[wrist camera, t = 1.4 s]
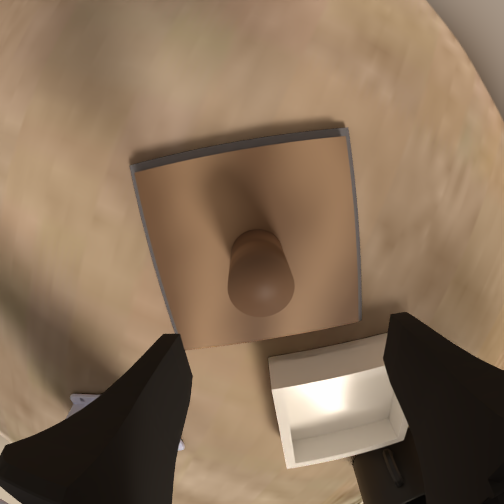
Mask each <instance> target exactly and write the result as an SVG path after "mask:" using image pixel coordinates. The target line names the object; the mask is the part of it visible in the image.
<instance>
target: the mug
mask: <svg viewBox="0 0 504 504" xmlns="http://www.w3.org/2000/svg"><path fill="white" fill-rule="evenodd" d="M353 468H354V471H355V475H356V478H357V482H358V485H359V489H360V492H361V496H362V499H363V503H364V504H426V496H425V488H424V482H423V476H422V471H421V467H420V462H419V458H418V454H417V450H416V446H415V442H414V439H413V436H412V433H411V430H410V428H407V431H406V435H405V438H404V440H403V441H400V442H397V443H394V444H391V445H388V446H385V447H381V448H378V449H375V450H371V451H368V452H364V453H361V454H358V455H357V456H356V458H355V460H354V464H353Z"/></svg>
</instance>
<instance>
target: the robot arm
mask: <svg viewBox="0 0 504 504" xmlns="http://www.w3.org/2000/svg"><path fill="white" fill-rule="evenodd" d="M383 361H384V364H385V368H386V372H387V375H388V378H389V381H390V384H391V386H392V388H393V391H394V393H395V395H396V398H397V400H398V402H399V404H400V407H401V409H402V411H403V414H404V416H405V418H406V421H407V423H408V425H409V428H410V430H411V433H412V436H413V439H414V442H415V446H416V450H417V454H418V458H419V462H420V467H421V471H422V476H423V482H424V488H425V496H426V504H504V370H501V369H499V368H497V367H495V366H493V365H491V364H489V363H486V362H484V361H482V360H480V359H479V358H477V357H475V356H473V355H471V354H470V353H468V352H466V351H465V350H463V349H461V348H460V347H458V346H457V345H455V344H453V343H452V342H450V341H449V340H447V339H446V338H444V337H443V336H441V335H440V334H438V333H437V332H436V331H434V330H433V329H431V328H430V327H428V326H427V325H425V324H424V323H423V322H421V321H420V320H418V319H417V318H415V317H414V316H412V315H410V314H409V313H407V312H403V313H397V314H391V315H390V322H389V328H388V334H387V339H386V345H385V350H384V355H383ZM192 377H193V376H192V373H191V369H190V366H189V363H188V359H187V356H186V353H185V349H184V346H183V342H182V339H181V335H180V334H163V335H162V336H161V337H160V338H159V339H158V340H157V341H156V342H155V343H154V344H153V345H152V346H151V347H150V348H149V349H148V350H147V351H146V353H145V354H144V355H143V356H142V357H141V358H140V359H139V360H138V361H137V362H136V363H135V364H134V365H133V366H132V367H131V368H130V369H129V370H128V371H127V372H126V373H125V374H124V375H123V376H122V377H120V378H119V379H118V380H117V381H116V382H115V383H114V384H113V385H112V386H111V387H110V388H108V389H107V390H106V391H105V392H104V393H102V394H101V395H91V394H71V396H70V399H71V401H72V402H73V406H72V408H71V409H70V411H69V413H68V415H67V417H66V419H65V420H63V421H62V422H60V423H58V424H56V425H54V426H52V427H50V428H48V429H46V430H44V431H42V432H40V433H38V434H35V435H33V436H31V437H28V438H25V439H22V440H20V441H17V442H14V443H11V444H8V445H6V446H5V447H4V449H3V451H2V453H1V455H0V486H1V487H2V488H3V489H4V490H5V491H7V492H8V493H9V494H10V495H12V496H13V497H14V498H15V499H17V500H18V501H19V502H21V503H22V504H172V493H173V481H174V471H175V462H176V457H177V452H178V450H183V449H184V447H185V445H184V443H183V442H182V440H181V435H182V431H183V427H184V423H185V419H186V415H187V411H188V407H189V403H190V396H191V387H192ZM0 504H8V503H6V502H5V501H3V500H1V499H0Z"/></svg>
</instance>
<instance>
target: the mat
mask: <svg viewBox="0 0 504 504" xmlns="http://www.w3.org/2000/svg"><path fill="white" fill-rule="evenodd" d="M340 136H346V142H347V149H348V157H349V165H350V174H351V183H352V193H353V204H354V216H355V229H356V245H357V266H358V312H359V321H361V320H362V298H361V258H360V238H359V223H358V209H357V198H356V187H355V177H354V168H353V160H352V152H351V144H350V137H349V130H348V128H336V129H325V130H315V131H307V132H298V133H290V134H283V135H275V136H269V137H262V138H255V139H249V140H243V141H237V142H232V143H226V144H221V145H216V146H211V147H206V148H201V149H196V150H191V151H187V152H182V153H178V154H173V155H169V156H165V157H161V158H157V159H153V160H149V161H145V162H141V163H137V164H133V165H130V170H131V175H132V180H133V184H134V189H135V193H136V198H137V202H138V206H139V211H140V215H141V219H142V223H143V227H144V231H145V234H146V238H147V242H148V246H149V249H150V253H151V257H152V260H153V264H154V267H155V271H156V274H157V278H158V281H159V284H160V288H161V291H162V294H163V297H164V301H165V304H166V307H167V310H168V313H169V316H170V319H171V322H172V325H173V328H174V331H175V334H178V331H177V328H176V325H175V322H174V319H173V316H172V313H171V310H170V307H169V304H168V301H167V297H166V294H165V291H164V287H163V284H162V281H161V277H160V274H159V270H158V267H157V263H156V260H155V256H154V253H153V249H152V245H151V241H150V238H149V234H148V230H147V226H146V222H145V218H144V214H143V209H142V205H141V201H140V197H139V192H138V188H137V183H136V179H135V174H134V173H136V172H139V171H143V170H147V169H151V168H155V167H159V166H163V165H168V164H172V163H176V162H181V161H186V160H190V159H195V158H200V157H205V156H210V155H215V154H220V153H225V152H231V151H236V150H242V149H248V148H254V147H260V146H267V145H274V144H281V143H288V142H295V141H303V140H312V139H321V138H330V137H340Z"/></svg>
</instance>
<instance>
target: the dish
mask: <svg viewBox="0 0 504 504" xmlns="http://www.w3.org/2000/svg"><path fill="white" fill-rule="evenodd" d="M387 334H388V332H387V333H384V334H380V335H376V336H372V337H368V338H363V339H359V340H355V341H350V342H346V343H342V344H337V345H332V346H327V347H323V348H318V349H312V350H307V351H302V352H296V353H291V354H285V355H279V356H273V357H268V362H269V371H270V380H271V389H272V394H273V399H274V405H275V410H276V415H277V420H278V425H279V430H280V435H281V441H282V446H283V451H284V456H285V461H286V466H287V469H289V468H296V467H302V466H307V465H313V464H318V463H323V462H327V461H332V460H337V459H341V458H345V457H349V456H353V455H357V454H361V453H364V452H368V451H371V450H375V449H378V448H381V447H385V446H388V445H391V444H394V443H397V442H400V441H403V440H404V438H405V435H406V431H407V428H408V423H407V421H406V418H405V416H404V414H403V411H402V409H401V407H400V404H399V402H398V400H397V398H396V395H395V393H394V391H393V388H392V386H391V384H390V381H389V378H388V375H387V372H386V368H385V364H384V361H383V355H384V350H385V345H386V339H387Z"/></svg>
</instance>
